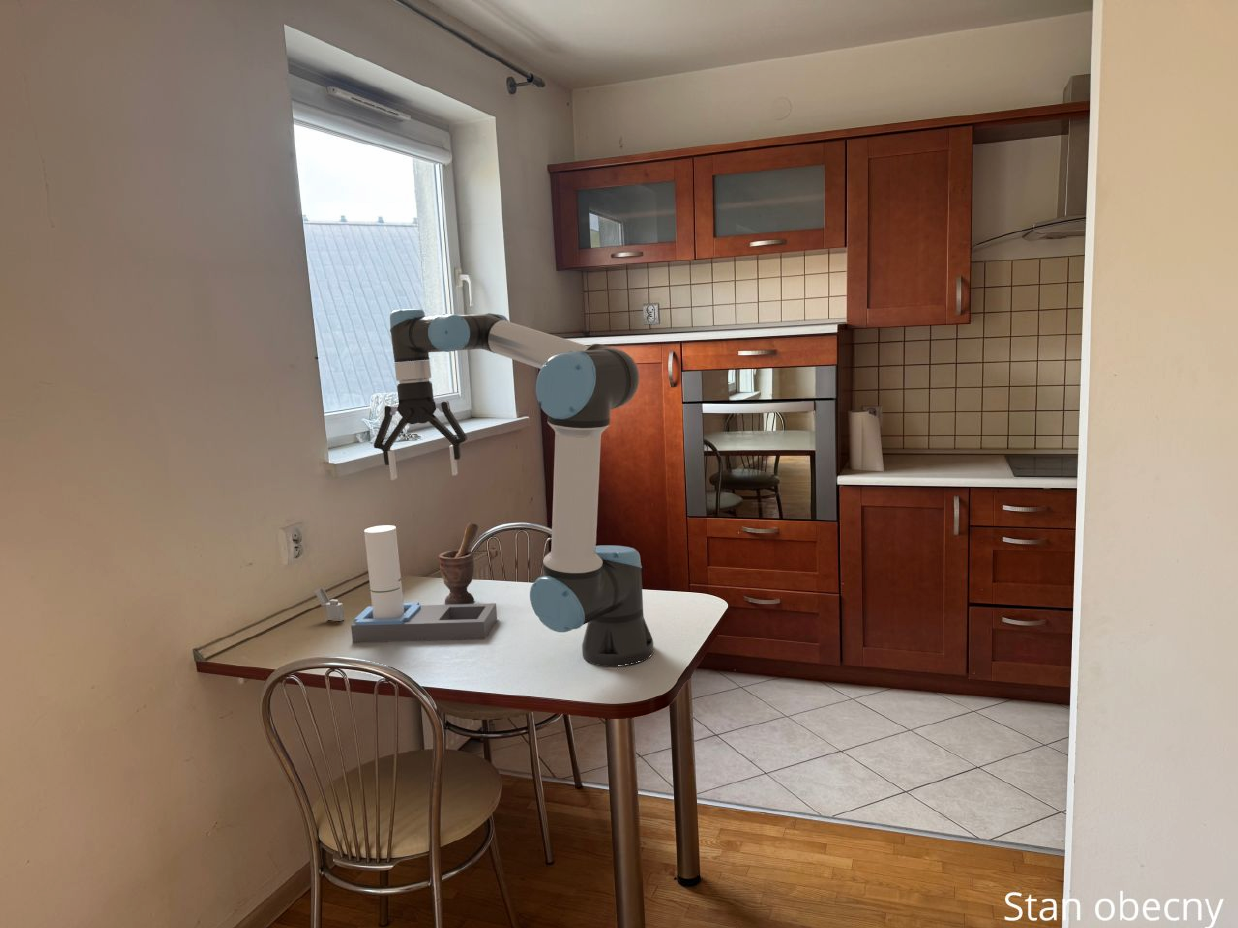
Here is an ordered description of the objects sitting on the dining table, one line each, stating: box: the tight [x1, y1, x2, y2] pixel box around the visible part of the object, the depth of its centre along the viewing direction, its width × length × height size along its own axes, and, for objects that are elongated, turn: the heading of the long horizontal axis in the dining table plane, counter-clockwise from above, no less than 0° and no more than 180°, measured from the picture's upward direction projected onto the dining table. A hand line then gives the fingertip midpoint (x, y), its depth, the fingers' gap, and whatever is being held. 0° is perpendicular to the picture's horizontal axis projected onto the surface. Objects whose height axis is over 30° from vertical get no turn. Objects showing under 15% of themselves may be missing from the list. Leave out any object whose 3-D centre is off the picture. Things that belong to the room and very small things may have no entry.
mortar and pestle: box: [438, 522, 479, 605], centre depth 219 cm, size 12×9×20 cm
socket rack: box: [350, 601, 498, 643], centre depth 200 cm, size 31×13×5 cm, turn 86°
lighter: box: [314, 587, 345, 622], centre depth 211 cm, size 7×2×8 cm, turn 66°
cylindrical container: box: [363, 524, 404, 619], centre depth 198 cm, size 7×7×25 cm
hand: (424, 476), depth 188 cm, fingers open, 13 cm apart
